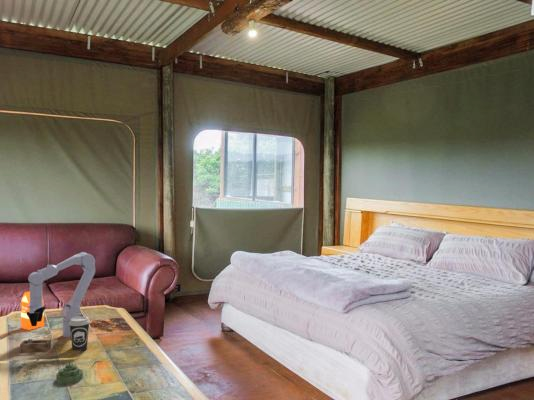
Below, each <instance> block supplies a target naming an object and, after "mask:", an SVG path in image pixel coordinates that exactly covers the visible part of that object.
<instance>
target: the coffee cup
mask: <svg viewBox="0 0 534 400" xmlns="http://www.w3.org/2000/svg"><path fill="white" fill-rule="evenodd" d="M90 323H91V321H90V319H89V317H88V316H84V315H82V316H80V315H79V316H78V317H74V318H72V319H71V320H70V322H69V325H70V332H71V337H70V338H71V339H70V341H71V349H72V350H74V351H79V350H80V353H81V352H85V351H86V350H88V342H89V339H88V338H89V328H90Z"/></svg>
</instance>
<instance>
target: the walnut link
mask: <svg viewBox="0 0 534 400" xmlns="http://www.w3.org/2000/svg"><path fill="white" fill-rule="evenodd" d="M28 340H29V339H28ZM28 340H23V341H22V342H21V343H20V344H19V350H20V351H19V353H32V352H48V351H49V350H50V348H51V340H52V339H50V338H49V339H34V340H33V339H32V343H29V344H28ZM51 349H52V348H51ZM50 351H51V350H50ZM50 351H49V352H50ZM49 352H48V353H49Z"/></svg>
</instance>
